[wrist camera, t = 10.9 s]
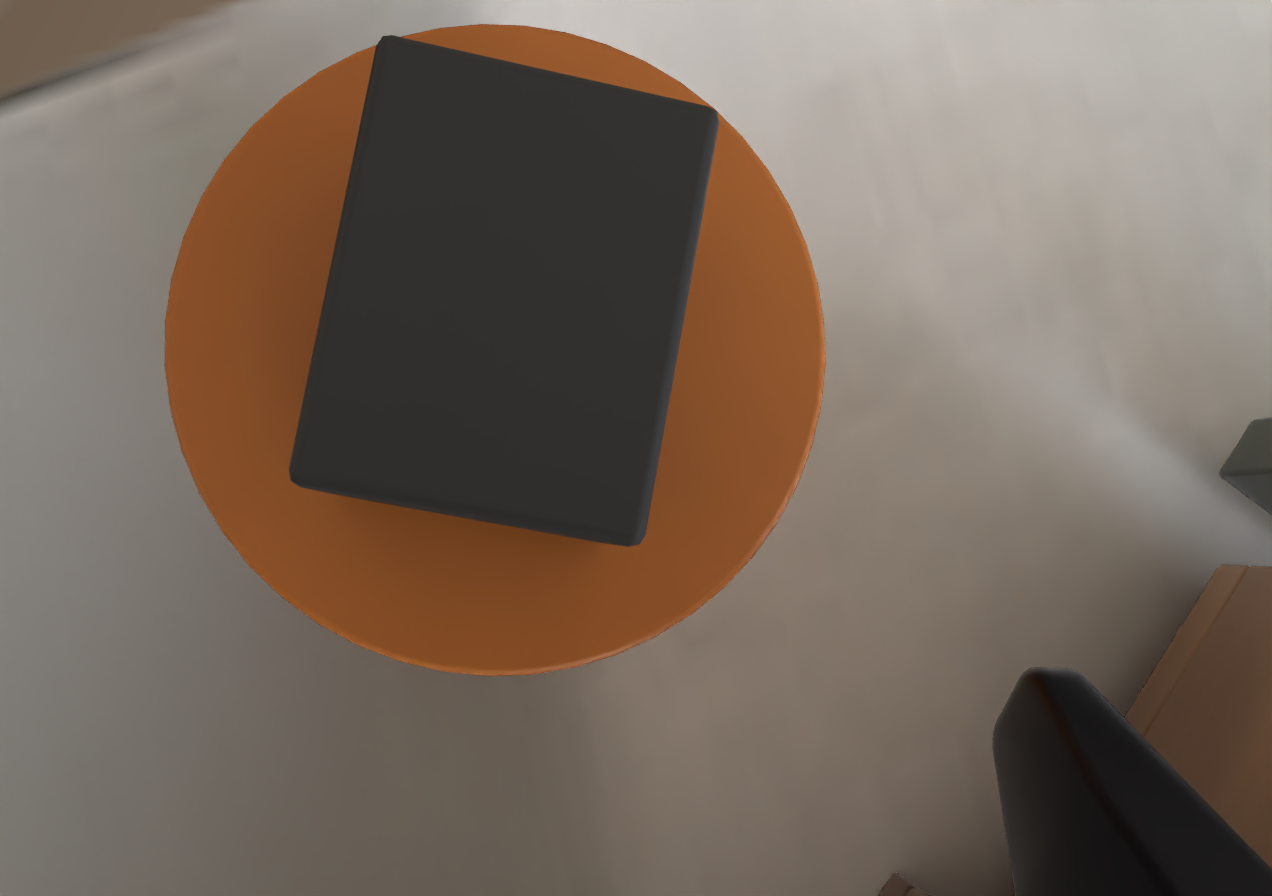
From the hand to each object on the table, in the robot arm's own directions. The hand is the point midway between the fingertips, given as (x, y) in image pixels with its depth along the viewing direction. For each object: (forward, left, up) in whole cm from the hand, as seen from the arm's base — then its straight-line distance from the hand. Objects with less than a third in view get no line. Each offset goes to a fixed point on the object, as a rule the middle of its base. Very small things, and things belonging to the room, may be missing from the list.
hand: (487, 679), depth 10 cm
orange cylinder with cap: (+3, 0, -10) cm, 10 cm away
